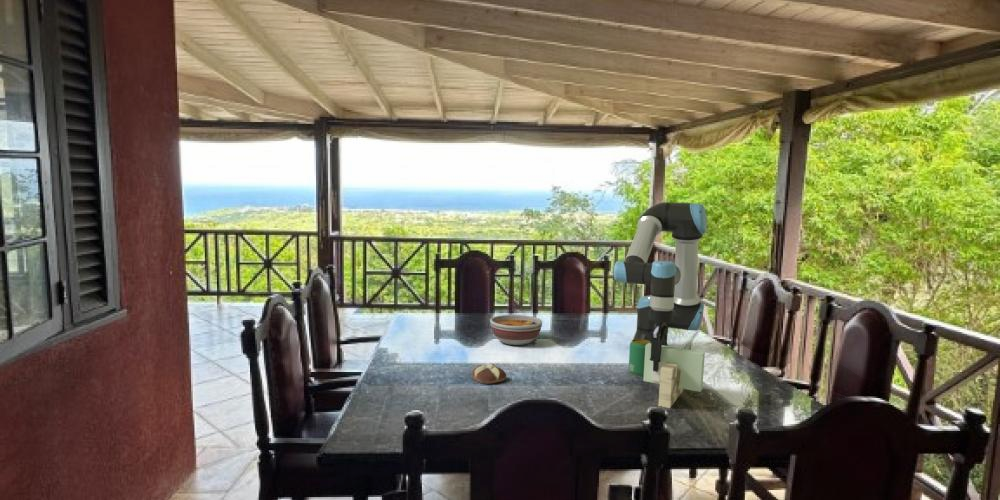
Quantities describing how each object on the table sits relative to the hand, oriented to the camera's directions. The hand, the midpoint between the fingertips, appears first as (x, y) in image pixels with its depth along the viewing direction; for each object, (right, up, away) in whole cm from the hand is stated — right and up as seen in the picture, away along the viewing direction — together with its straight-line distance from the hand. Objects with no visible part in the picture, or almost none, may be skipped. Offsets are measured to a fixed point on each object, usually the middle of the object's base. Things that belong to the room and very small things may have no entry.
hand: (657, 378), depth 180 cm
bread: (-56, -3, +11) cm, 57 cm away
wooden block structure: (+4, -6, -2) cm, 7 cm away
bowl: (-45, +1, +61) cm, 76 cm away
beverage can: (0, -3, +23) cm, 23 cm away
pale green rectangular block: (+4, -1, -2) cm, 5 cm away
